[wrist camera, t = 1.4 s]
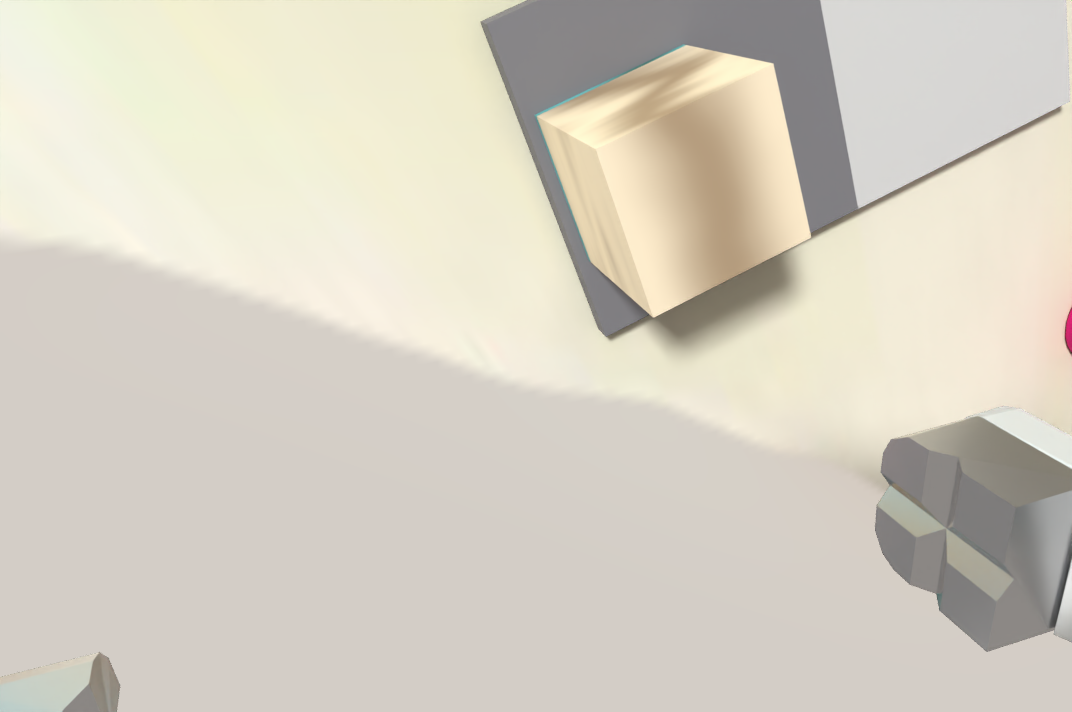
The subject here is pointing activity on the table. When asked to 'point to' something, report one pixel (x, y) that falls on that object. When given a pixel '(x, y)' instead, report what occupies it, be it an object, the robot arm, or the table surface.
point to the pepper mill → (1069, 331)
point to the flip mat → (803, 85)
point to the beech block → (678, 173)
